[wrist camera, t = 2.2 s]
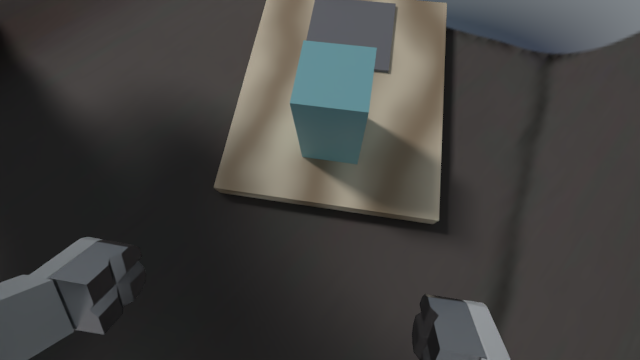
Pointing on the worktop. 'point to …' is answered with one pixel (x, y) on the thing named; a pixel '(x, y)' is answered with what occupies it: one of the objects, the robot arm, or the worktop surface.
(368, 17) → the pad
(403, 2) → the post board
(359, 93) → the teal pillar
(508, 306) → the worktop surface
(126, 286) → the robot arm
